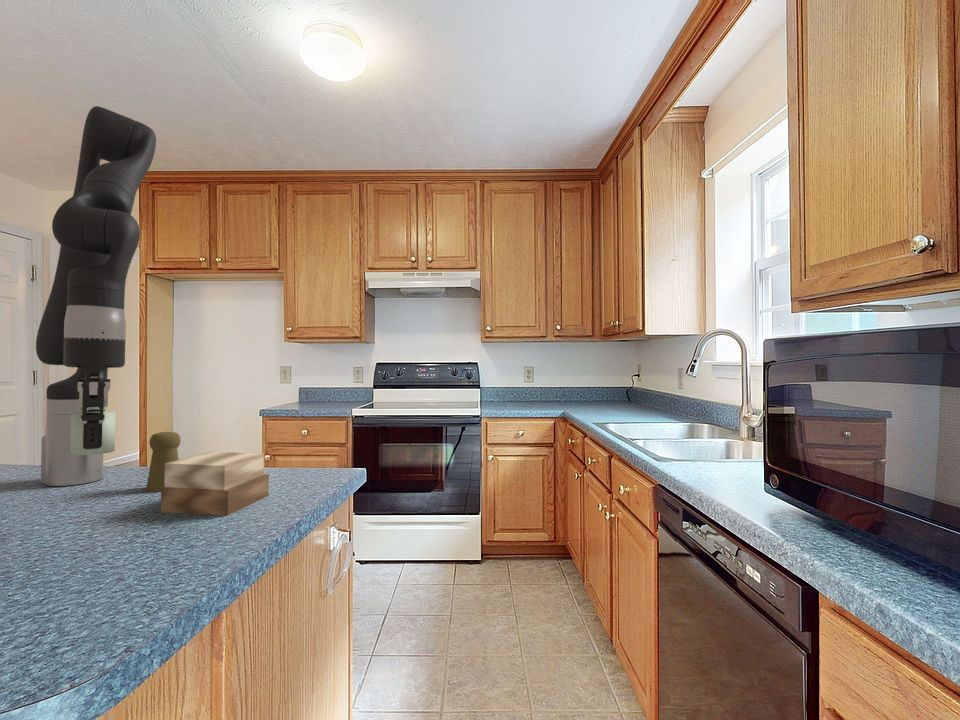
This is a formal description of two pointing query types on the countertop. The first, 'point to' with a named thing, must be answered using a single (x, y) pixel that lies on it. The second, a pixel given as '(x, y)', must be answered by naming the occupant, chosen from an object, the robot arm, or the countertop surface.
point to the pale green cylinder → (107, 435)
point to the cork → (161, 458)
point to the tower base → (214, 498)
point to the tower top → (214, 470)
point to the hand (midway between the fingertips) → (92, 445)
